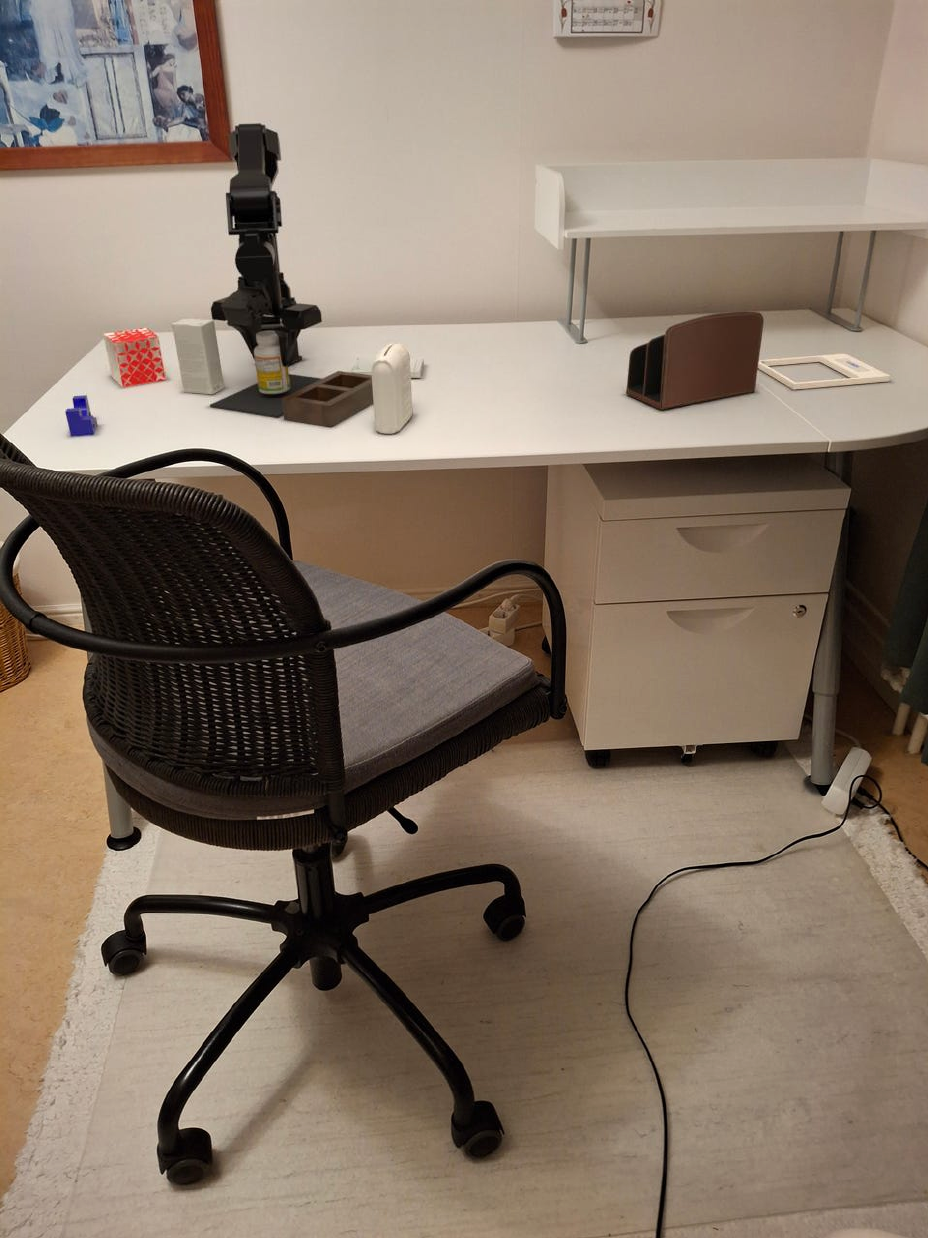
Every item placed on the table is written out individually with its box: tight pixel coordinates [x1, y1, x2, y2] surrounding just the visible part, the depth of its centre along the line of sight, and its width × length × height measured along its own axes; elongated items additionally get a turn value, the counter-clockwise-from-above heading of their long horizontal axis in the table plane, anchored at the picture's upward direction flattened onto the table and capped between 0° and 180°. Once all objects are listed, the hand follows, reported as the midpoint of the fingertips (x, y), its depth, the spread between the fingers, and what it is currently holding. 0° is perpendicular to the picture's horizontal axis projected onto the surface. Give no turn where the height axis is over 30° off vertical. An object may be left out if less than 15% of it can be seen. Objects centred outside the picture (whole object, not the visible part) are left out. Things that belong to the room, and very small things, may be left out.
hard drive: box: [351, 358, 425, 379], centre depth 177 cm, size 2×8×12 cm
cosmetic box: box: [171, 317, 225, 395], centre depth 167 cm, size 6×4×12 cm
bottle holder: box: [282, 370, 374, 428], centre depth 160 cm, size 9×17×4 cm, turn 154°
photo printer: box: [372, 342, 413, 435], centre depth 150 cm, size 10×4×12 cm, turn 168°
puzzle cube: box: [102, 327, 167, 388], centre depth 175 cm, size 8×8×8 cm
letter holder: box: [625, 311, 765, 411], centre depth 160 cm, size 10×20×14 cm, turn 117°
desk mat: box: [209, 373, 322, 419], centre depth 167 cm, size 14×20×1 cm
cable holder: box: [64, 394, 99, 437], centre depth 154 cm, size 8×4×4 cm, turn 10°
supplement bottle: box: [254, 330, 290, 394], centre depth 163 cm, size 5×5×10 cm
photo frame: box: [758, 353, 891, 390], centre depth 171 cm, size 15×1×18 cm
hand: (271, 363), depth 164 cm, fingers closed on supplement bottle, 5 cm apart
